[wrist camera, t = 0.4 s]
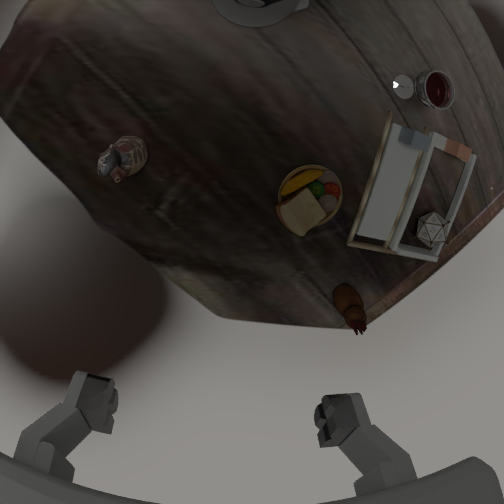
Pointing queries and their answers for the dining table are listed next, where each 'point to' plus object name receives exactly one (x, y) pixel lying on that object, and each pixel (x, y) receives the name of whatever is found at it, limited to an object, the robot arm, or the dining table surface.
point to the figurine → (123, 158)
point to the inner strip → (391, 181)
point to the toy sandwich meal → (308, 198)
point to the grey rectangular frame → (442, 144)
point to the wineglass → (427, 88)
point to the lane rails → (367, 191)
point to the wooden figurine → (350, 307)
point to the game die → (432, 229)
